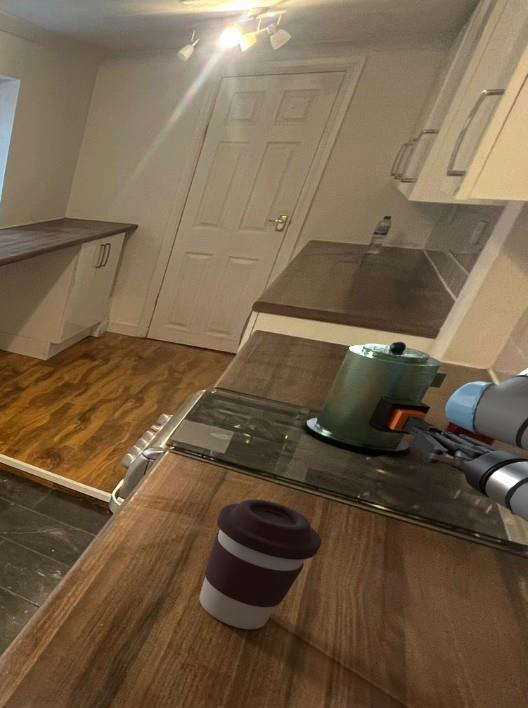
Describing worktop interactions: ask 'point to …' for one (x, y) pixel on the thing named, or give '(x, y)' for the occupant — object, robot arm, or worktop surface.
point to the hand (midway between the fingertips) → (409, 423)
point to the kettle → (374, 397)
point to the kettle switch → (403, 417)
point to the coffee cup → (255, 561)
